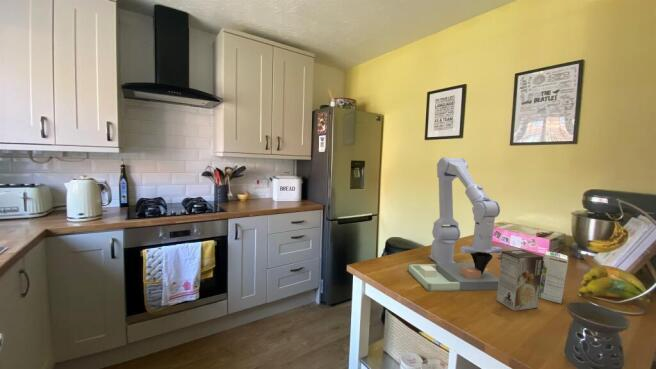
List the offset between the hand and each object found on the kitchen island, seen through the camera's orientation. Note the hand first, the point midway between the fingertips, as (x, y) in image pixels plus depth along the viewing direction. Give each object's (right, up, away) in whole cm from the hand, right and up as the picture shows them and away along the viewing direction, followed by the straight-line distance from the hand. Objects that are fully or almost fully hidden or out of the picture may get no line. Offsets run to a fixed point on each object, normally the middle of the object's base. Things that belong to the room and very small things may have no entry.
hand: (479, 272), depth 96 cm
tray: (-16, -3, +2) cm, 16 cm away
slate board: (-3, -4, +4) cm, 6 cm away
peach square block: (-3, -1, 0) cm, 3 cm away
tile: (-16, 0, +5) cm, 17 cm away
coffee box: (+4, -6, -12) cm, 14 cm away
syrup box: (+19, -6, -8) cm, 21 cm away
